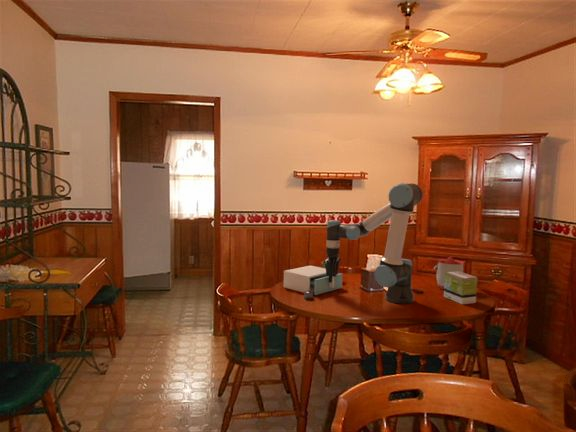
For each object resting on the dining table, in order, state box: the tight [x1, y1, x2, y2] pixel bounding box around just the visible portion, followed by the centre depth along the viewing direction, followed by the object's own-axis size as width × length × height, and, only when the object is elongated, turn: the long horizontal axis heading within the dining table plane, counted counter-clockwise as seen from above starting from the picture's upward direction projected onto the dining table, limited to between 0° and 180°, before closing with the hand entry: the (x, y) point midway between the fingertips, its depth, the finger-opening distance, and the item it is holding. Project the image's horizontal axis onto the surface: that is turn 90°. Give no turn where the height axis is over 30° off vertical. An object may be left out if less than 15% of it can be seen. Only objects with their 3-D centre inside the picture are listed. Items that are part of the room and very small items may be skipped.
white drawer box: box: [283, 265, 328, 294], centre depth 270 cm, size 20×24×10 cm
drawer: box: [310, 272, 343, 296], centre depth 268 cm, size 24×24×9 cm
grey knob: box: [303, 291, 314, 301], centre depth 246 cm, size 5×5×4 cm
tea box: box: [443, 271, 478, 305], centre depth 248 cm, size 15×10×15 cm, turn 21°
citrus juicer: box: [433, 256, 465, 291], centre depth 273 cm, size 16×17×20 cm
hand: (331, 287), depth 259 cm, fingers closed
